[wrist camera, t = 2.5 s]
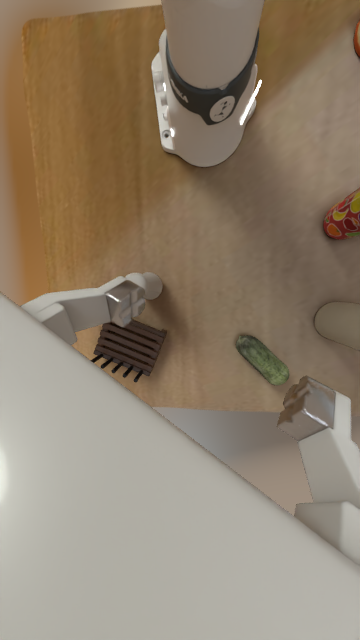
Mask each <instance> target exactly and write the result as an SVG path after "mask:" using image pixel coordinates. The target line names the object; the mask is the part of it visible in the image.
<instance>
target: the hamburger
mask: <svg viewBox="0 0 360 640" xmlns="http://www.w3.org/2000/svg"><path fill="white" fill-rule="evenodd" d="M354 45H355V51H356V52H357V54H358V55H359V57H360V20H359V22H358V24H357V26H356V31H355V36H354Z"/></svg>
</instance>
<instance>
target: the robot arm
mask: <svg viewBox="0 0 360 640" xmlns="http://www.w3.org/2000/svg"><path fill="white" fill-rule="evenodd" d="M161 1H162V8H163V13H164V20H165V26H166V29H165V30H164V31H163V33H162V35H161V37H160V40H159V48H160V51H159V52H158V53H157V55H156V56H155V58H154V60H153V61H152V75H153V83H154V91H155V98H156V106H157V113H158V121H159V128H160V136H161V143H162V148H163V150H164V151H166V152H169V153H173V154H177V155H179V156H180V157H181V158H183V159H184V160H185V161H187V162H188V163H190V164H192V165H195V166H199V167H209V166H214V165H217V164H219V163H221V162H223V161H224V160H226V159H227V158H228V157H229V156H230V155H231V154H232V153H233V152H234V151H235V150H236V148H237V147H238V145H239V143H240V141H241V139H242V136H243V132H244V129H245V125H246V123H247V122H248V120H249V119H250V117H251V116H252V114H253V113H254V111H255V107H256V100H255V96H256V94H257V92H258V89H259V87H260V85H261V82H262V80H260V82H259V84H258V86H257V88H256V90H255V92H254V95H253V91H254V86H255V81H256V76H257V65H256V64H255V59H256V54H257V47H258V39H259V23H260V18H261V14H262V10H263V5H264V1H265V0H161ZM166 136H168V138H165V137H166ZM144 295H145V289H144V288H142V287H140V286H139V285H137V284H135V283H133V282H132V281H130V280H128V279H126V278H124V277H123V276H119V277H117V278H115V279H113V280H111V281H110V282H108V283H106V284H104V285H103V286H101V287H99V288H97V289H96V288H88V289H80V290H71V291H63V292H55V293H46V294H44V295H42V296H40V297H38V298H36V299H34V300H32V301H30V302H28V303H26V304H24V305H21V306H18V305H17V304H16V303H15V302H13V301H12V300H11V299H9V298H8V297H7V296H5V295H4V294H3V293H1V292H0V640H360V450H359V448H358V447H357V445H356V443H354V442H353V441H351V400H350V398H348V397H347V396H345V395H343V394H341V393H339V392H337V391H335V390H333V389H331V388H329V387H328V386H326V385H324V384H322V383H320V382H318V381H316V380H314V379H312V378H310V377H309V376H307V375H306V376H304V377H302V378H301V379H300V381H299V384H296V385H293V386H292V387H291V388H290V389H289V390H288V392H287V393H286V396H285V398H284V401H283V405H284V408H285V410H283V411H282V412H281V413H280V417H279V420H278V424H277V427H278V428H279V429H281V430H282V431H283V432H285V433H287V434H288V435H290V436H291V437H292V438H294V439H295V440H297V441H298V442H297V443H298V447H299V450H300V454H301V458H302V462H303V465H304V469H305V473H306V476H307V480H308V484H309V487H310V491H311V495H312V499H313V502H314V503H300V504H296V508H295V515H294V516H293V515H292V514H290V513H289V512H288V511H286V510H285V509H284V508H282V507H281V506H280V505H278V504H277V503H276V502H275V501H273V500H272V499H271V498H269V497H268V496H267V495H265V494H264V493H263V492H261V491H260V490H259V489H258V488H256V487H255V486H254V485H252V484H251V483H250V482H248V481H247V480H246V479H244V478H243V477H242V476H241V475H239V474H238V473H237V472H235V471H234V470H233V469H231V468H230V467H229V466H227V465H226V464H225V463H224V462H222V461H221V460H220V459H218V458H217V457H216V456H214V455H213V454H212V453H210V452H209V451H208V450H207V449H205V448H204V447H202V446H201V445H200V444H199V443H197V442H196V441H195V440H194V439H192V438H191V437H190V436H188V435H187V434H186V433H184V432H183V431H182V430H181V429H179V428H178V427H177V426H175V425H174V424H172V423H171V422H170V421H169V420H167V419H166V418H165V417H164V416H162V415H161V414H160V413H158V412H157V411H156V410H154V409H153V408H152V407H150V406H149V405H148V404H147V403H145V402H144V401H143V400H141V399H140V398H139V397H137V396H136V395H135V394H133V393H132V392H131V391H130V390H128V389H127V388H126V387H124V386H123V385H122V384H120V383H119V382H118V381H116V380H115V379H114V378H113V377H111V376H110V375H109V374H107V373H106V372H105V371H103V370H102V369H101V368H99V367H98V366H97V365H96V364H94V363H93V362H92V361H90V360H89V359H88V358H86V357H85V356H84V355H83V354H81V353H80V352H79V351H77V350H76V349H75V348H73V347H72V346H71V345H72V344H74V343H75V342H77V337H76V334H75V332H77V331H81V330H84V329H87V328H91V327H94V326H98V325H101V324H104V323H108V322H111V321H112V322H114V323H116V324H117V325H119V326H121V327H122V328H123V327H125V326H126V325H127V324H128V323H130V322H131V321H132V317H136V316H138V315H140V314H141V313H142V311H143V310H144V308H145V300H144V298H143V296H144Z"/></svg>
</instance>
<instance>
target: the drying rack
mask: <svg viewBox="0 0 360 640" xmlns="http://www.w3.org/2000/svg"><path fill="white" fill-rule="evenodd" d="M113 323H114V322H112V321H111V322H108V323H104V324H103V326H102V327H103V329H102V330H101V332H100V335H101V336H100V337H99V338H98V344H97V345H96V348H95V350H94V354H95V355H98V356H97V357H95V358H94V359H92V360H91V361H92V362H93V363H95V362H96V361H97V360H99V359H100V358H102V357H103V358H105V359H107V361H106V362H105V363H104V364H102V365H101V368H102V369H103V368H105V367H106V366H107V365H108V364H109V363H111V362H115V363H117V364H118V365H117V366H116V367H115V368H114V369H113V370H112V373H115V372H116V371H117V370H118V369H119V368H120V367H121V366H124V367H127V368H128V370H127V371H126V372H125V373H124V374H123V377H124V378H125V377H126V376H127V375H128V374H129V373H130V372H131V370H134V371H137V372H139V373H138V374H137V376H136V377H135V379H134V382H137V381H138V379H139V378H140V376H141V375H142V374H144V375H146V376H150V374H151V372H152V370H153V367H154V365H155V362H156V359H157V357H158V354H159V352H160V349H161V346H162V344H163V341H164V339H165V336H166V333H167V330H164V329H162V331H160V330H157V329H155V328H152V327H150V326H147V325H145V324H142V323H140V322H137V321H135V320H132V321H131V322H130V323H128V324H127V325H126V326H125V327H124V328H127V329H129V330H132V331H134V332H137V333H139V334H142V335H144V336H147V337H149V338H152V339H154V340H157V343H155V342H153V341H150V340H148V339H145V338H143V337H140V336H138V335H136V334H133V333H131V332H128V331H126V330H123V329H121V328H118V327H116V326H113ZM114 324H116V323H114ZM132 324H133V325H132ZM137 326H138V327H137ZM142 328H143V329H142ZM147 330H148V331H147ZM110 331H113V332H115V333H118V334H120V335H123V336H125V337H128V338H130V339H133V340H135V341H138V342H140V343H142V344H145V345H147V346H150V347H152V348H154V350H151V349H149V348H147V347H144V346H142V345H139V344H137V343H134V342H132V341H129V340H127V339H124V338H122V337H119V336H117V335H114V334H112V333H110ZM152 332H153V333H152ZM157 334H158V335H157ZM108 338H109V339H112V340H114V341H116V342H119V343H121V344H124V345H126V346H129V347H131V348H134V349H136V350H139V351H141V352H143V353H146V354H148V355H151V358H150V357H148V356H145V355H143V354H141V353H138V352H136V351H133V350H131V349H128V348H126V347H123V346H121V345H118V344H116V343H114V342H111V341H109V340H108ZM106 346H108V347H111V348H113V349H115V350H118V351H120V352H123V353H125V354H128V355H130V356H133V357H135V358H137V359H140V360H142V361H145V362H147V363H149V364H148V365H147V364H145V363H142V362H140V361H137V360H135V359H132V358H130V357H127V356H125V355H123V354H120V353H118V352H115V351H113V350H110V349H108V348H105V347H106Z"/></svg>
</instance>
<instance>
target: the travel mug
mask: <svg viewBox="0 0 360 640" xmlns="http://www.w3.org/2000/svg"><path fill="white" fill-rule="evenodd" d="M315 327H316V330H317V331H318V333H319V334H320V335H322V336H323V337H326V338H328V339H331V340H333V341H336V342H338V343H341V344H344V345H346V346H349V347H351V348H354V349H356V350H359V351H360V304H354V303H345V302H331V303H328V304H326V305H324V306H323V307H322V308H321V309H320V310H319V311H318V312H317V314H316V317H315Z"/></svg>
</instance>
